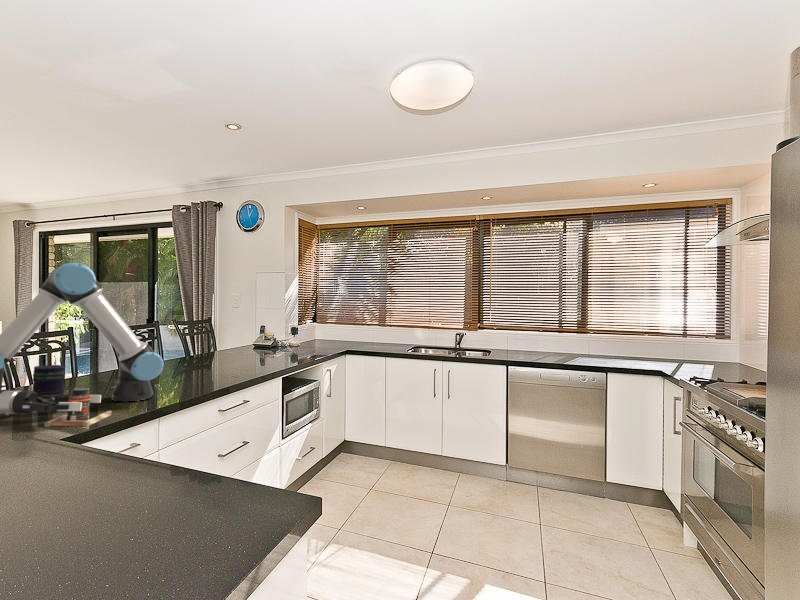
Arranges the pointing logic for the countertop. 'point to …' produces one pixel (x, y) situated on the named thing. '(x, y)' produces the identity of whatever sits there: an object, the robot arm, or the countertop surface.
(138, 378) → the robot arm
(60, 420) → the guide channel
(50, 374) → the storage jar
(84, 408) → the supplement bottle
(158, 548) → the countertop surface
